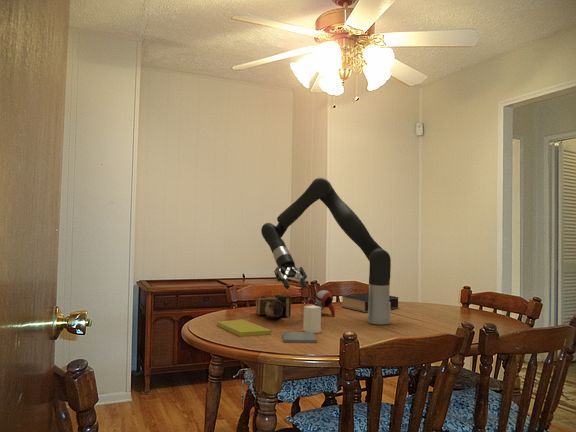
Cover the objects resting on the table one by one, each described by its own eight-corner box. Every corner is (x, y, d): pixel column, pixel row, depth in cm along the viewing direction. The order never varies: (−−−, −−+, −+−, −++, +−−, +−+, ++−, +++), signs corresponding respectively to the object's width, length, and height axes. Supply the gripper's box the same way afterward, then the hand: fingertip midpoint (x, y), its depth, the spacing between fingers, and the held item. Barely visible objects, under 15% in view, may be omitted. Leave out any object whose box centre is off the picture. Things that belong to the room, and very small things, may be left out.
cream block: (313, 329, 184) (313, 305, 185) (320, 332, 180) (321, 307, 180) (303, 330, 182) (303, 306, 182) (310, 333, 177) (311, 308, 178)
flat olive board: (216, 326, 187) (243, 339, 167) (217, 321, 187) (243, 333, 167) (242, 324, 194) (271, 335, 174) (242, 319, 194) (271, 330, 174)
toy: (331, 325, 214) (338, 298, 211) (301, 319, 214) (307, 292, 211) (330, 312, 228) (337, 286, 224) (302, 305, 228) (308, 280, 225)
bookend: (279, 294, 222) (301, 296, 200) (278, 316, 221) (301, 320, 199) (252, 294, 216) (272, 296, 194) (251, 317, 215) (272, 321, 193)
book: (398, 309, 239) (398, 297, 240) (364, 313, 225) (365, 300, 225) (374, 304, 254) (375, 293, 254) (341, 308, 239) (342, 295, 240)
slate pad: (313, 334, 175) (313, 332, 175) (316, 342, 163) (316, 339, 163) (282, 334, 174) (282, 331, 174) (283, 342, 162) (284, 339, 162)
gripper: (273, 253, 195) (286, 282, 185) (300, 253, 203) (314, 281, 193) (266, 264, 199) (279, 293, 189) (293, 263, 207) (306, 292, 197)
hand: (296, 287), depth 191 cm, fingers open, 8 cm apart
